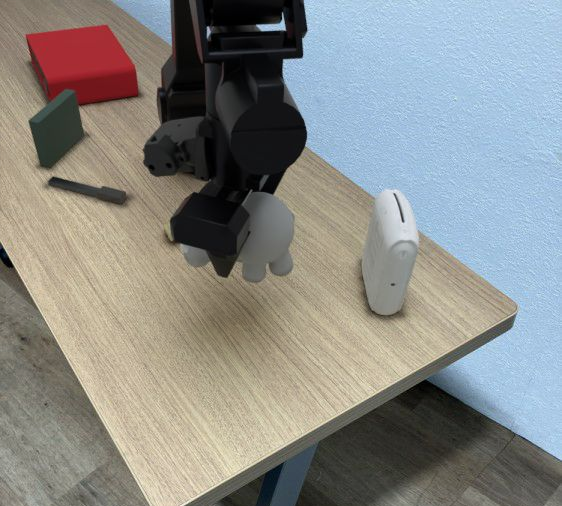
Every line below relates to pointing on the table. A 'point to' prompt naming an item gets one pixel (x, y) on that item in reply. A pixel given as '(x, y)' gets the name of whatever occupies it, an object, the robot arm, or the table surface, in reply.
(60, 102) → the backboard
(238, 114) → the robot arm
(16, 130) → the table surface
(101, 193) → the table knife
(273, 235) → the chubby cartoon animal
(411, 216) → the photo printer
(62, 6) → the table surface
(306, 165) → the table surface
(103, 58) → the audio interface
